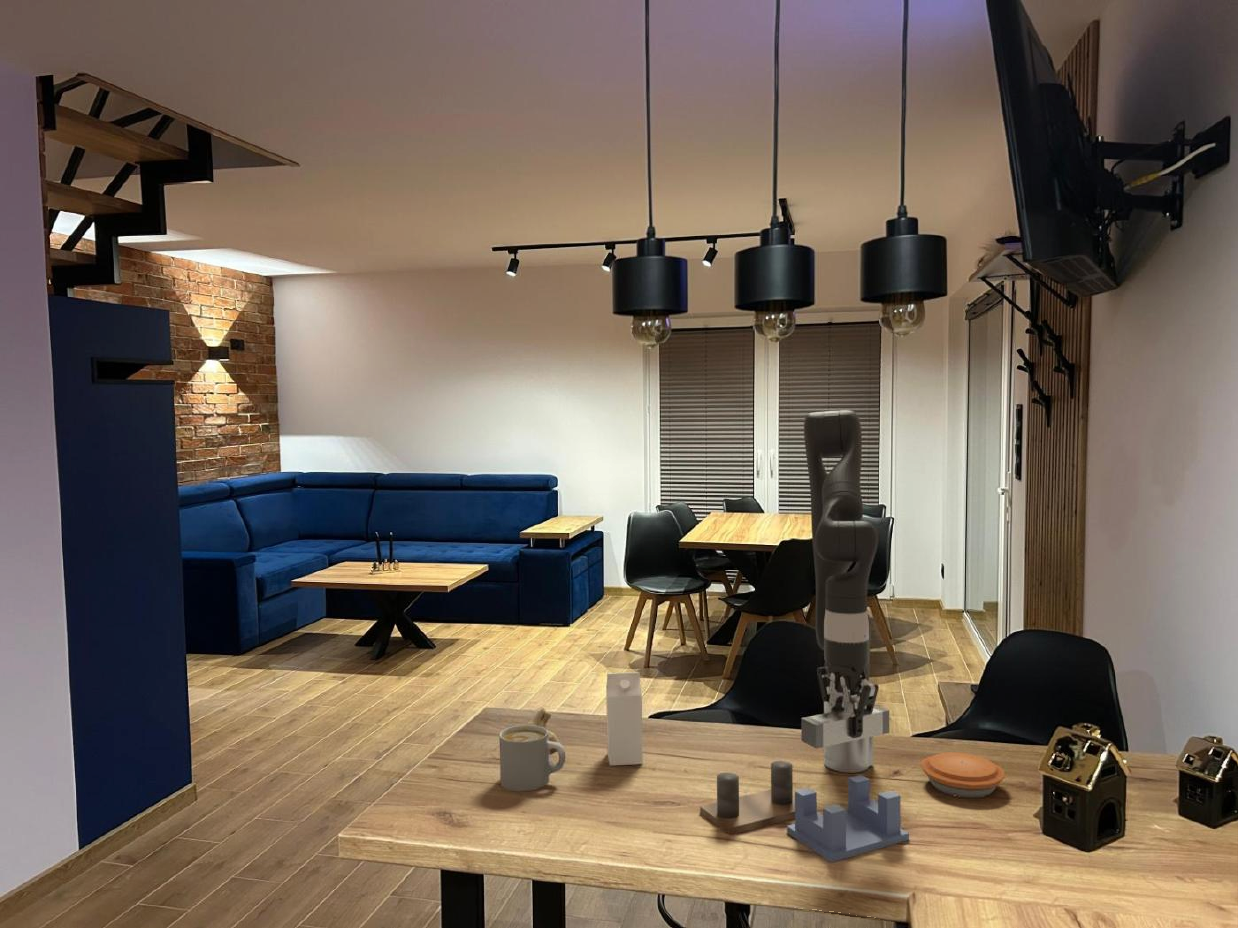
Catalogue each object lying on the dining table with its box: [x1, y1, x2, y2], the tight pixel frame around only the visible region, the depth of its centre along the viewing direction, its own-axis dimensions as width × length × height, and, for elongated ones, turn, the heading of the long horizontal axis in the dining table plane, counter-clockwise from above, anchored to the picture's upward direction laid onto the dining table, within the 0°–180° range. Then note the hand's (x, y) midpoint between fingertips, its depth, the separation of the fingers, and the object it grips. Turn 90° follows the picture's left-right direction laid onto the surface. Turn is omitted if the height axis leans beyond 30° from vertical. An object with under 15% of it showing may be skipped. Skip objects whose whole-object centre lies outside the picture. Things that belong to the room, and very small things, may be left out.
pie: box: [920, 752, 1006, 799], centre depth 174 cm, size 16×16×5 cm
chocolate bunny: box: [525, 707, 561, 754], centre depth 196 cm, size 6×8×10 cm
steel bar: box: [800, 704, 890, 749], centre depth 153 cm, size 16×4×4 cm, turn 116°
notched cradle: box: [786, 774, 910, 863], centre depth 154 cm, size 17×12×8 cm
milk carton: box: [605, 671, 644, 766], centre depth 190 cm, size 7×7×19 cm
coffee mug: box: [498, 724, 566, 792], centre depth 179 cm, size 13×10×10 cm
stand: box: [699, 760, 795, 836], centre depth 163 cm, size 18×10×8 cm, turn 116°
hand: (846, 732), depth 153 cm, fingers closed on steel bar, 4 cm apart
